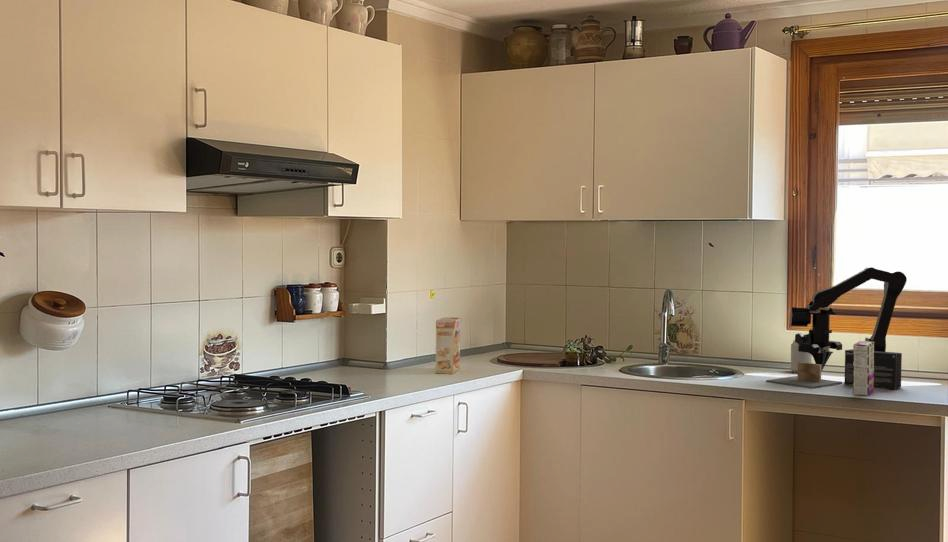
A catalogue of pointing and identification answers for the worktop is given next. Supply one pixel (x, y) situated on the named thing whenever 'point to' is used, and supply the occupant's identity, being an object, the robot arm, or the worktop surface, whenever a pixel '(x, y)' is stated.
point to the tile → (809, 372)
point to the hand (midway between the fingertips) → (819, 371)
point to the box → (878, 369)
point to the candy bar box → (863, 368)
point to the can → (798, 357)
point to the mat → (803, 382)
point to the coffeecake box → (448, 345)
